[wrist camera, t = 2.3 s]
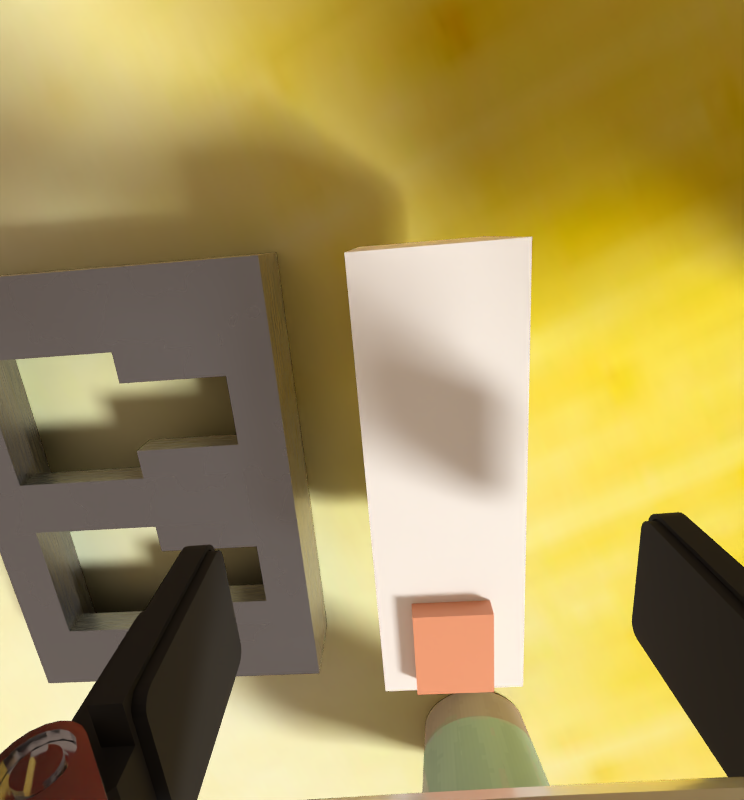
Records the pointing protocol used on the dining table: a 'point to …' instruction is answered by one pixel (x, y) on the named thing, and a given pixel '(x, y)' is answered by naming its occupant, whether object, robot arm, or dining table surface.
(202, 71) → the dining table surface
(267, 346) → the grey frame with openings
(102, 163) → the dining table surface
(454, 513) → the white block orange button
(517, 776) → the coffee cup
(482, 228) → the dining table surface
